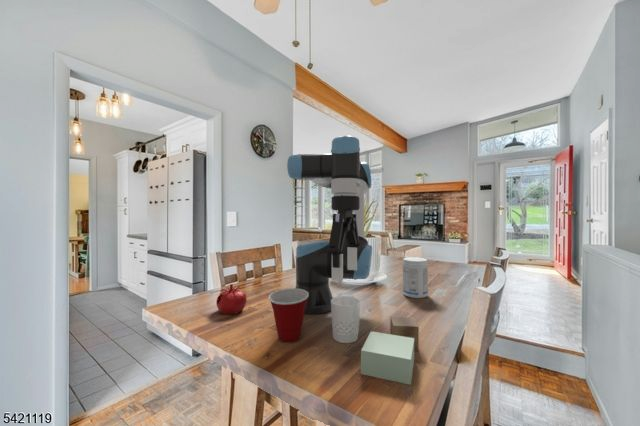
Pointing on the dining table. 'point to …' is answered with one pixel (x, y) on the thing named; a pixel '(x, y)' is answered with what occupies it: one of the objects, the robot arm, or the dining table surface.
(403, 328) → the walnut cube
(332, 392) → the dining table surface
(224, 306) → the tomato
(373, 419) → the dining table surface
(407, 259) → the supplement tub
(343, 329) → the white cup
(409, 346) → the base block
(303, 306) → the plastic cup
